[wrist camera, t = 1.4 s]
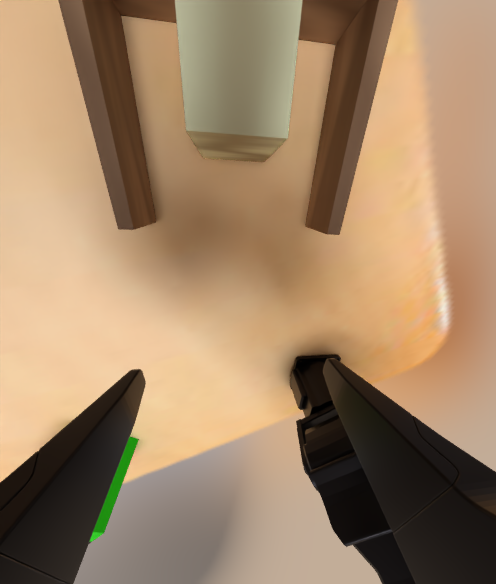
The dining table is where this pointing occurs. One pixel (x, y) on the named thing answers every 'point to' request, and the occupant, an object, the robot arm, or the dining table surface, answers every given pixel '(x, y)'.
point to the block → (238, 74)
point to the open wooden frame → (161, 6)
